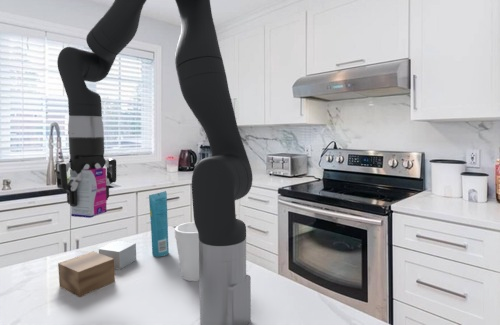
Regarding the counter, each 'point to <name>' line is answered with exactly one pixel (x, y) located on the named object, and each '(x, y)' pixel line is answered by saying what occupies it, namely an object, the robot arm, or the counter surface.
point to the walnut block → (86, 273)
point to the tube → (159, 224)
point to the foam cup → (188, 250)
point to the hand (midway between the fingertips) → (89, 202)
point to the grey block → (120, 253)
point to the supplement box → (90, 193)
